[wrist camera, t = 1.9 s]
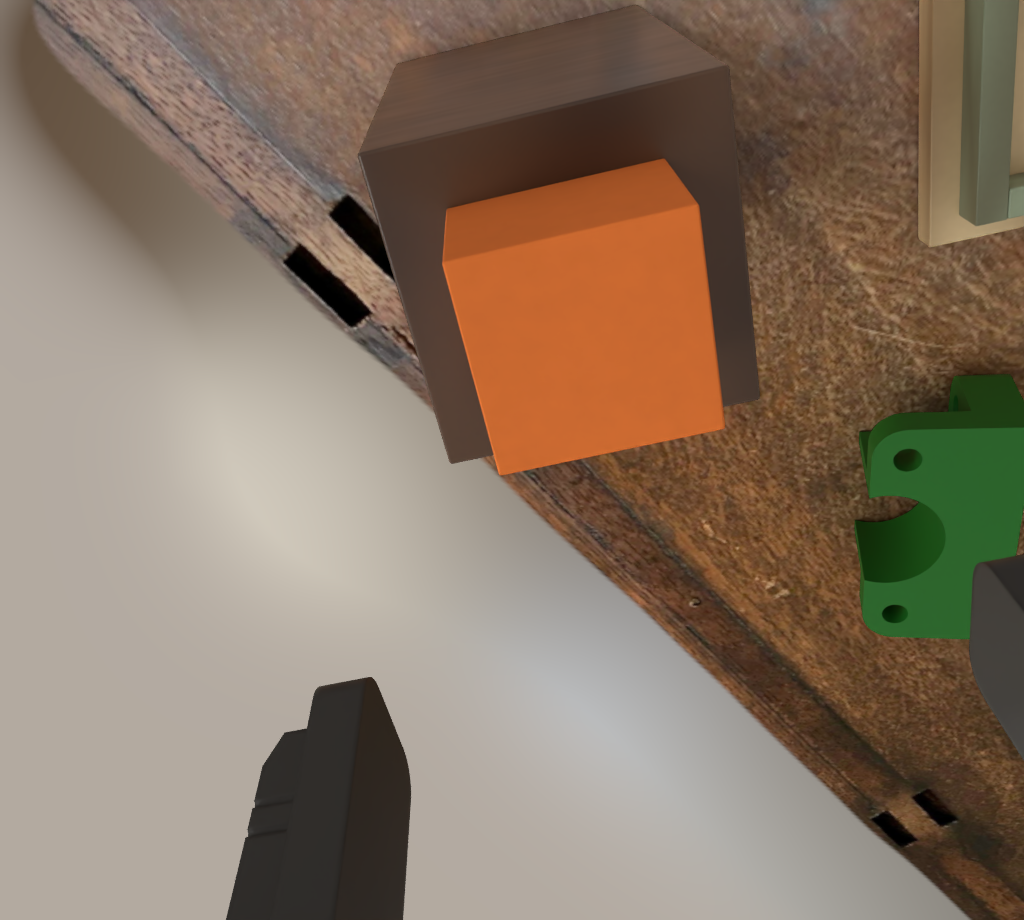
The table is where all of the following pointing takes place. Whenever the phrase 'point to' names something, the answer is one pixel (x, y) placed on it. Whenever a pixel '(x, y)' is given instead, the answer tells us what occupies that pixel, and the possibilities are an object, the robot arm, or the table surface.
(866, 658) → the table surface
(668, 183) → the orange square block
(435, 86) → the stand
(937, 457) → the clamp
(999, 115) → the square tray
